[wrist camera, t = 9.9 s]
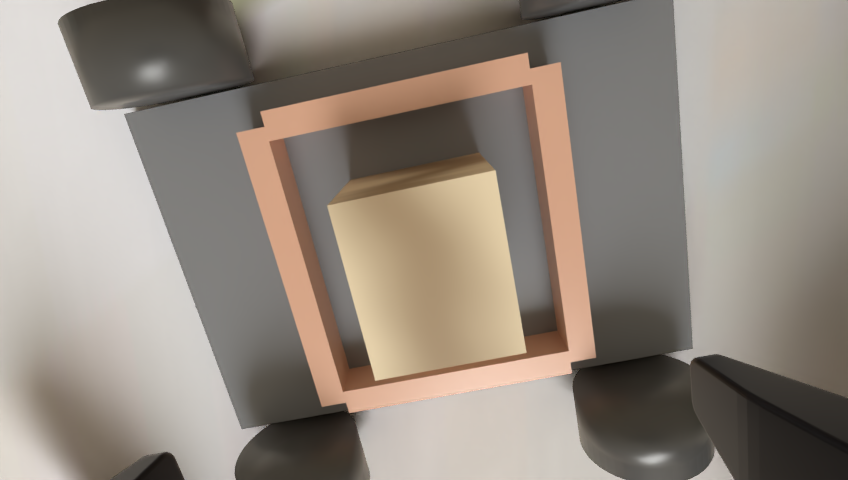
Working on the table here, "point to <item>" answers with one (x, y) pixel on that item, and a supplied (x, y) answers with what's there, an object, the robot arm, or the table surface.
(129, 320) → the table surface
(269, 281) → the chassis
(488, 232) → the tan wooden block
